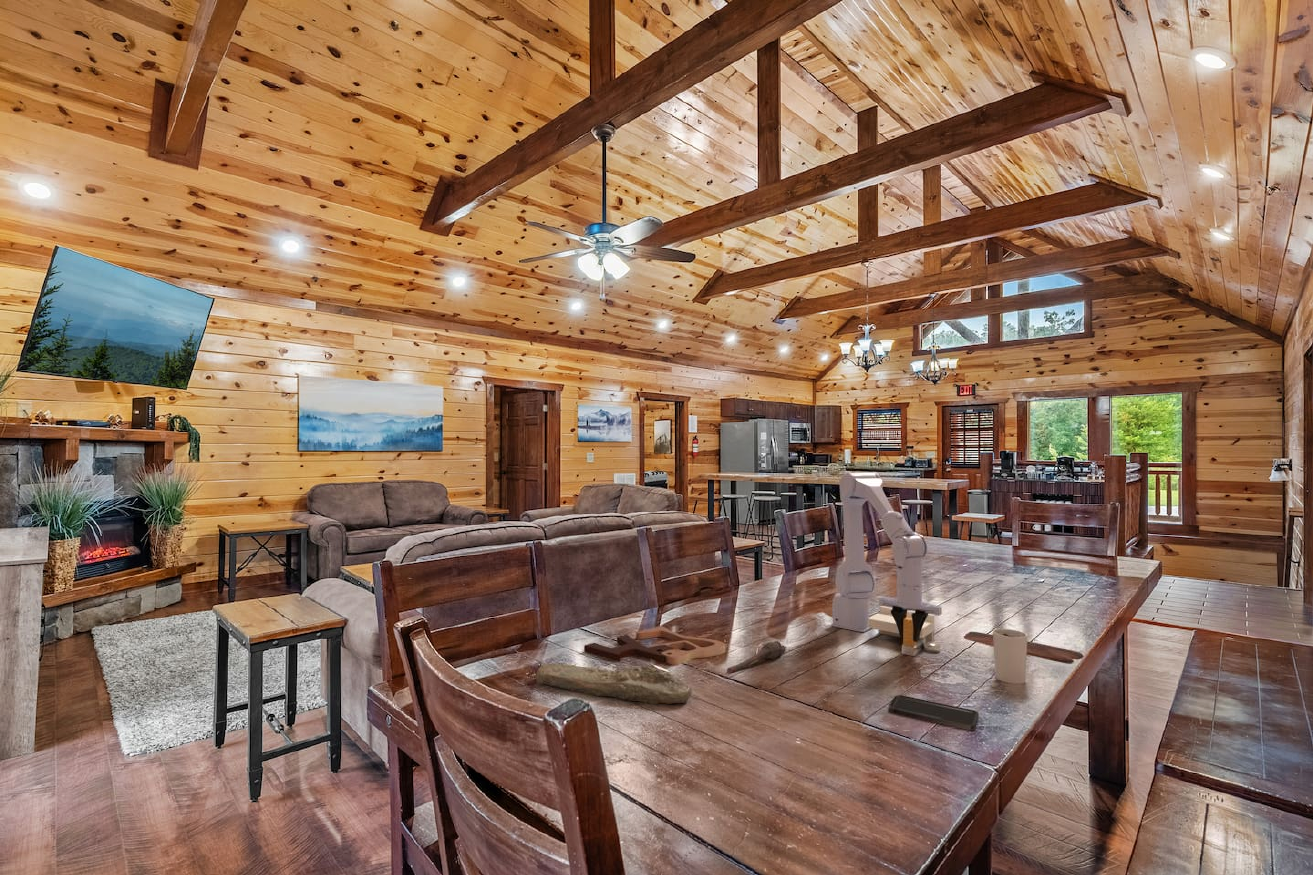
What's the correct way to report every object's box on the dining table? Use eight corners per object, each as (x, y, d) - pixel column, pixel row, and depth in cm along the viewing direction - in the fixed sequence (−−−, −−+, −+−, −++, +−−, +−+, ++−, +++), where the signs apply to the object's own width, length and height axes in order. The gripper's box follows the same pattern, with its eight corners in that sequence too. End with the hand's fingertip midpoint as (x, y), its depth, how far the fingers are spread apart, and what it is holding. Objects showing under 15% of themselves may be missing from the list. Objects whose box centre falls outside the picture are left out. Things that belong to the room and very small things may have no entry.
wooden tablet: (956, 634, 165) (973, 623, 171) (957, 642, 165) (973, 631, 172) (1071, 661, 145) (1085, 647, 151) (1071, 670, 145) (1085, 656, 151)
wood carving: (583, 653, 153) (645, 680, 135) (583, 645, 153) (645, 671, 135) (667, 631, 171) (730, 653, 154) (667, 624, 171) (730, 644, 154)
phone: (896, 694, 125) (979, 711, 117) (896, 699, 125) (979, 717, 117) (887, 707, 118) (974, 727, 110) (887, 713, 118) (974, 733, 110)
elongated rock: (551, 677, 140) (527, 696, 131) (549, 654, 140) (525, 671, 130) (698, 690, 127) (683, 712, 118) (696, 665, 127) (681, 685, 118)
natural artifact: (790, 657, 153) (798, 646, 152) (729, 675, 139) (737, 663, 137) (780, 645, 156) (788, 634, 154) (719, 661, 141) (727, 649, 139)
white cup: (989, 678, 135) (989, 633, 136) (997, 671, 140) (997, 626, 140) (1023, 686, 131) (1023, 639, 131) (1031, 678, 136) (1030, 632, 136)
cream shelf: (868, 638, 164) (868, 612, 164) (881, 631, 171) (881, 605, 171) (922, 650, 155) (922, 622, 155) (934, 641, 161) (934, 615, 161)
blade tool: (901, 653, 152) (902, 618, 152) (913, 642, 160) (914, 610, 160) (914, 656, 150) (915, 621, 150) (925, 645, 158) (926, 612, 159)
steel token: (920, 650, 155) (920, 644, 155) (925, 646, 158) (925, 640, 158) (937, 653, 152) (937, 647, 152) (942, 649, 155) (942, 643, 155)
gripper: (873, 582, 154) (874, 637, 154) (934, 591, 144) (935, 649, 144) (884, 578, 159) (885, 630, 159) (944, 586, 150) (944, 642, 149)
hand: (909, 639), depth 152 cm, fingers closed on blade tool, 2 cm apart
